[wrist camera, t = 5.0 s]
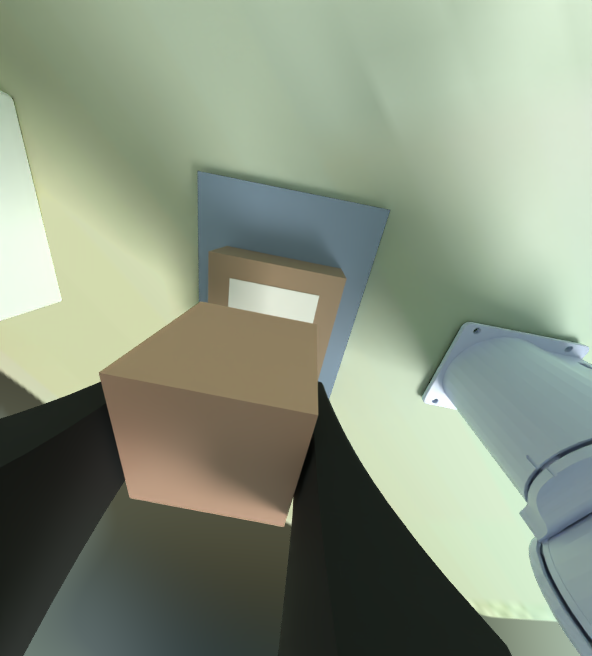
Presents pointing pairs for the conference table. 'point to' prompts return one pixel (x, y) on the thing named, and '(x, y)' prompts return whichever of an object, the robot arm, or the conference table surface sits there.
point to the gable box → (21, 227)
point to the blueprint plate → (287, 257)
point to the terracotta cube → (217, 412)
